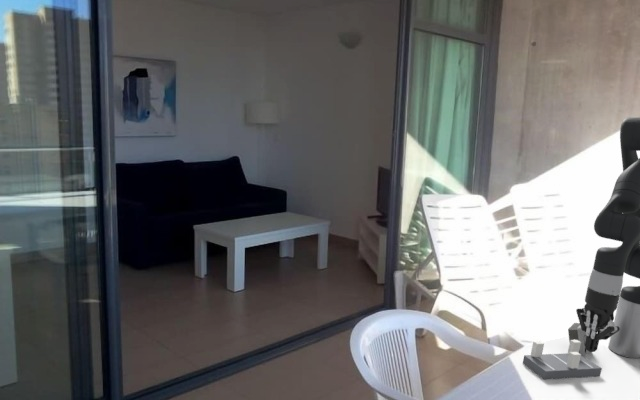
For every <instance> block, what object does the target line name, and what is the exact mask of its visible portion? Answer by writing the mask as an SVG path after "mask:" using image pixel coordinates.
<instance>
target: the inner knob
mask: <svg viewBox="0 0 640 400" xmlns="http://www.w3.org/2000/svg"><path fill="white" fill-rule="evenodd" d="M580 345H581V342H580V341H578V340H575V339H574V340H570V342H569V345H568V350H567V353H570V352H578V353H579V350H580Z"/></svg>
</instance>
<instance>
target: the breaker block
mask: <svg viewBox="0 0 640 400" xmlns="http://www.w3.org/2000/svg"><path fill="white" fill-rule="evenodd" d="M568 357H569V353H568V352H567V353H548V354H547V353H545V354H544V353H542V357H534V356H532V355H531V354H524V356H523V360H522V365H524V366H525V367H526V368H528V369H529V370H531V371H532V372H533V373H534V374H536V375H537V376H539V378H541V379H543V380H544V381H546V380H547V381H549V380H564V379H580V378H595V377H601V373H602V369H603V367H601V366H600V365H598V364H596V363H595V362H593V361H592V360H590V359H589V358H587V357H586V356H585V357H584V356H582V355H581V357H580V361H579V366H578V368H570V367H568V366H567V362H568Z"/></svg>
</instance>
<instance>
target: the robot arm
mask: <svg viewBox="0 0 640 400" xmlns="http://www.w3.org/2000/svg"><path fill="white" fill-rule="evenodd" d="M619 139H620V150H621V151H620V152H621V154H620V155H621V161H622V172H621V173H620V174H619V176H618V178H617V179H616V182H615V183H614V186H613V190H612V193H611V195H610V198H609V200H608V202H607V203H606V204H605V206H604V208H603V209H602V210H601V211H600V212H599V213H598V215H597V216H596V219H595V220H594V224H593V229H594V232H595V234H596V235H597V237H599V238H603V239H609V240H613V241H618V242H621V245H619V246H616V247H611V246H610V247H609V246H607V247H605V246H604V247H599V248H598V249H597V251H596V253H595V258H594V262H593V266H592V267H593V268H592V271H591V273H590V276H589V280H588V284H587V288H586V293H585V297H584V301H585V304H584V306H583V307H582V308H577V309H576V314H577V319H578V323H580V325H581V329H582V331H585V332H586V335H587V337H586V342H585V349H586V350H588V351H589V353H594V352H596V351H598V347H599V342H600V341H602V340H605V341H607V340H608V339H609V342H608V349H609V350H610V351H612V352H613V353H615V354H617V355H619V356H623V357H626V358H630V359H631V358H632V359H639V357H640V285H639V286H635V285H633V286H632V285H630V286H629V285H628V286H623V282H624V281H623V280H624V274H626V275H628V276H630V277H634V278H635V279H639V280H640V157H639V156H638V154H637V151H638V152H640V116H638V117H637V116H636V117H627V118H624V119H623V120H622V122H621V125H620V130H619ZM622 286H623V287H622ZM615 311H616V312H615ZM614 314H615V315H614ZM584 322H585V323H586V326H585V323H584Z"/></svg>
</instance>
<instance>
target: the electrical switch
mask: <svg viewBox="0 0 640 400" xmlns="http://www.w3.org/2000/svg"><path fill="white" fill-rule="evenodd" d="M584 323H585V322H584ZM585 326H586V323H585ZM567 334H568V341H569V343H570V340H578V341H580V342H581V345H580V350H579V354H581V355H582V356H584V357H585V358H586V356H587V355H588V354H589V353H590V352H589V351H588V350H586V349H585V342H586V337H587V335H586V332H585V331H582V329H581V325H580V322H578V323H577V322H574V323H573V324H572V325H571V326H570V327H569V328H568V333H567Z"/></svg>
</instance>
